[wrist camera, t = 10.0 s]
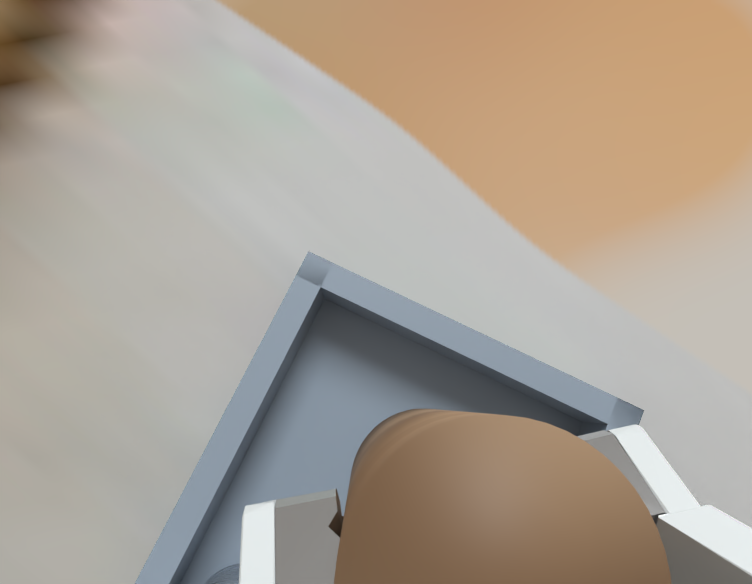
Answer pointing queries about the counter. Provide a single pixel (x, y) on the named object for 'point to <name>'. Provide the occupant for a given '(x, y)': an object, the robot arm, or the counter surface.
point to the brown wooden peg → (491, 507)
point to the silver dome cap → (226, 575)
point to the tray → (348, 406)
